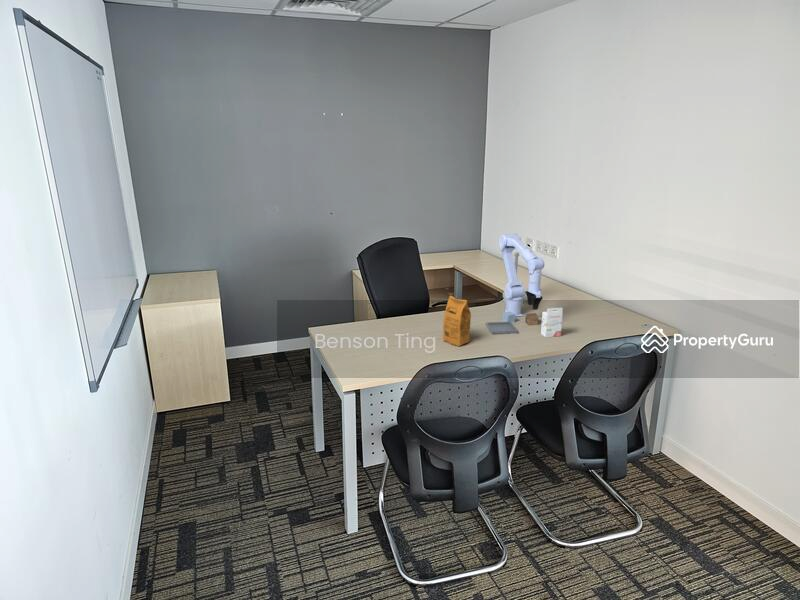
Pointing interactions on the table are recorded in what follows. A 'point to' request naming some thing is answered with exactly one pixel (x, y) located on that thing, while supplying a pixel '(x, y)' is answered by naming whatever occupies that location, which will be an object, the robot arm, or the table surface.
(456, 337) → the coffee package
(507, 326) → the tray
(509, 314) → the slate blue block
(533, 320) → the walnut cube
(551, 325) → the ink cartridge box
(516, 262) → the flag stand
